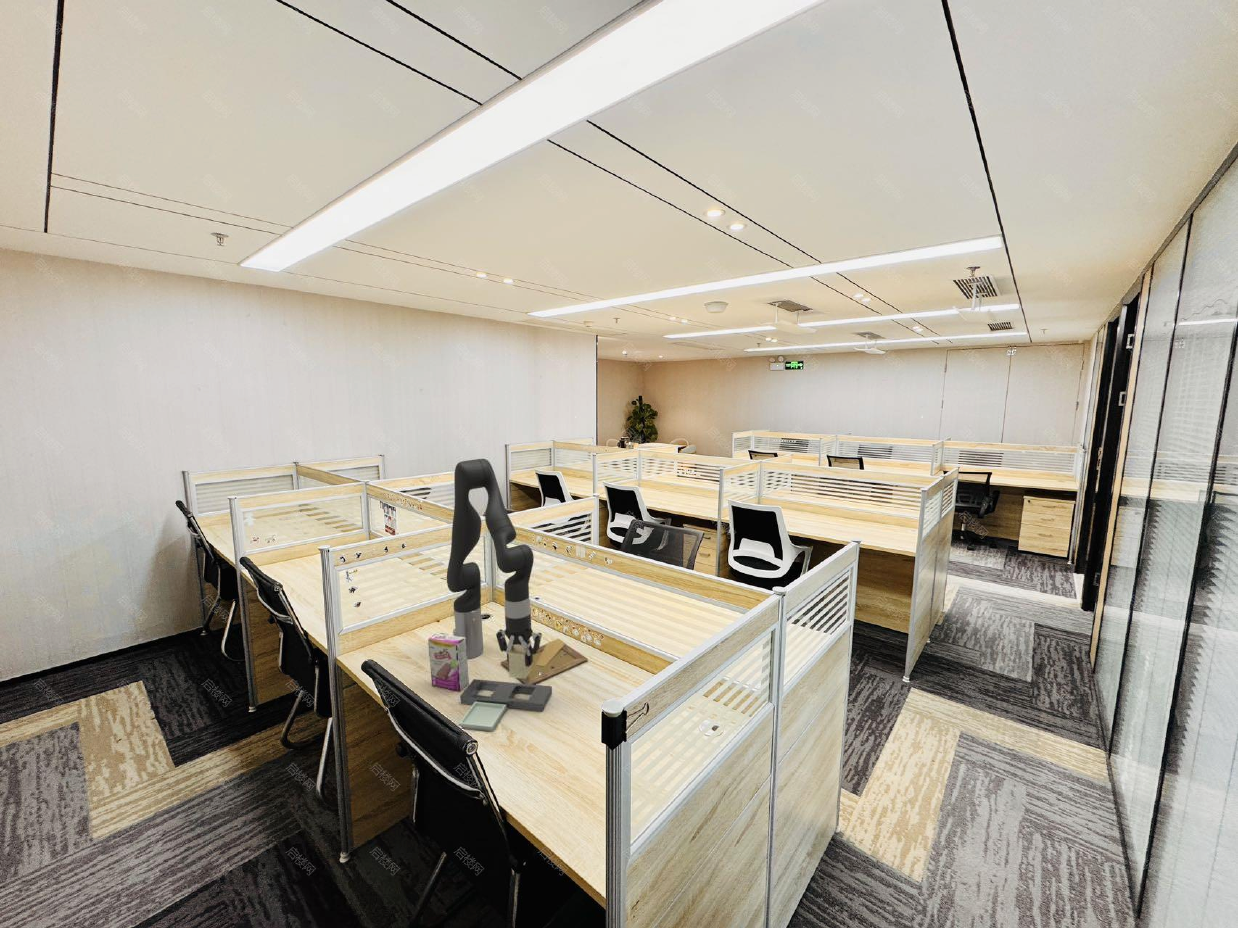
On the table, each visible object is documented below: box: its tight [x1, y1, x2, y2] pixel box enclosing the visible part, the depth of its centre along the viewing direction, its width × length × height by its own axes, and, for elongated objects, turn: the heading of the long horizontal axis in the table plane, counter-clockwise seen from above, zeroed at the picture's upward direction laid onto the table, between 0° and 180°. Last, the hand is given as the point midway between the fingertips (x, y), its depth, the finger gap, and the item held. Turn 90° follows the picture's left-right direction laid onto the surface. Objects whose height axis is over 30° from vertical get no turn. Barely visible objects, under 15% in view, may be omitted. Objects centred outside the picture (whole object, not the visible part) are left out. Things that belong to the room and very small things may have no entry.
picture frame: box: [500, 638, 589, 685], centre depth 175 cm, size 19×2×24 cm
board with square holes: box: [459, 678, 553, 713], centre depth 155 cm, size 26×9×2 cm, turn 80°
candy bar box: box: [427, 632, 470, 692], centre depth 162 cm, size 11×5×16 cm, turn 71°
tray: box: [458, 702, 508, 733], centre depth 146 cm, size 10×10×2 cm
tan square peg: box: [508, 644, 531, 679], centre depth 153 cm, size 5×5×8 cm
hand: (520, 664), depth 153 cm, fingers closed on tan square peg, 5 cm apart
